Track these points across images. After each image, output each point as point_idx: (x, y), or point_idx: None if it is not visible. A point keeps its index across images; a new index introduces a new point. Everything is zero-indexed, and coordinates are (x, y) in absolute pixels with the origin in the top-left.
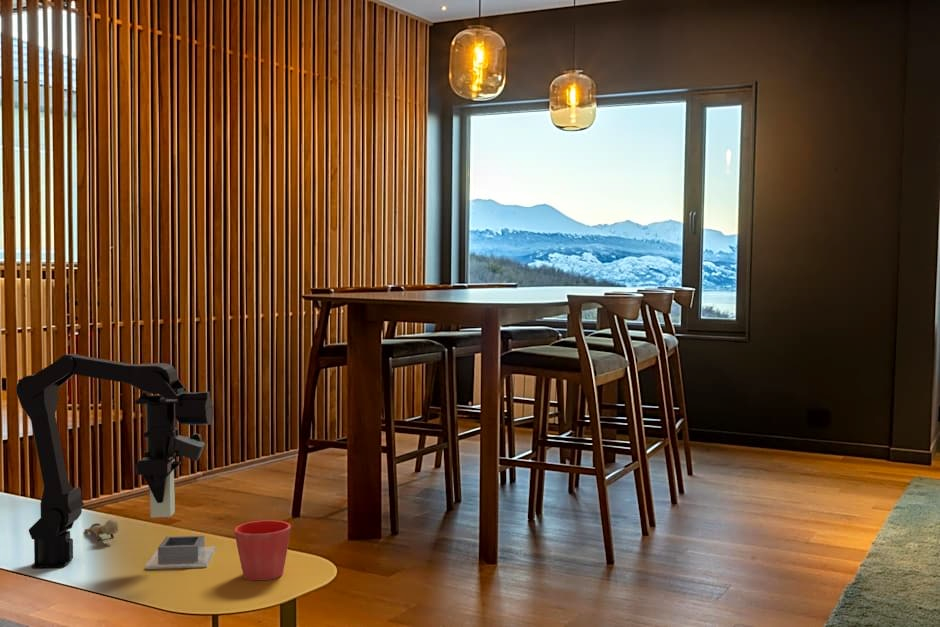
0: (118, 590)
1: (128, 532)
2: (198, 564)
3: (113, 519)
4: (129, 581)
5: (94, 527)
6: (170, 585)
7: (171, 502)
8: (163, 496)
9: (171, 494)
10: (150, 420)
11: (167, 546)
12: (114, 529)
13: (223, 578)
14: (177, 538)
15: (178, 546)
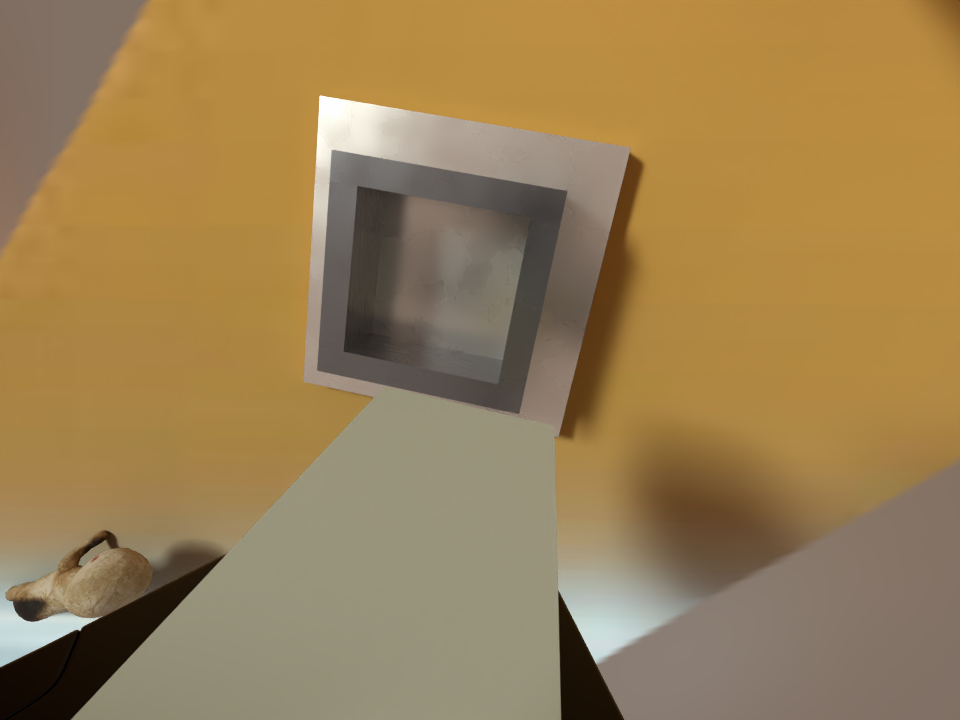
0: (816, 531)
1: (32, 480)
2: (618, 193)
3: (80, 603)
4: (708, 491)
5: (55, 613)
6: (858, 331)
7: (496, 480)
8: (570, 638)
9: (472, 540)
10: None
11: (514, 366)
12: (140, 571)
13: (881, 46)
14: (349, 310)
15: (534, 308)
